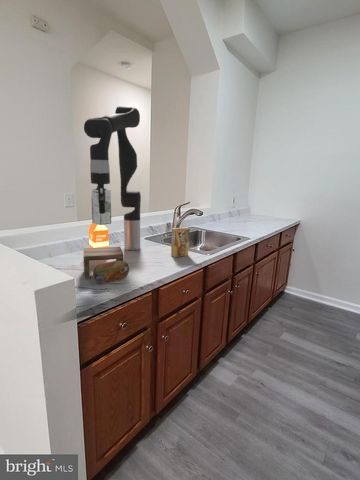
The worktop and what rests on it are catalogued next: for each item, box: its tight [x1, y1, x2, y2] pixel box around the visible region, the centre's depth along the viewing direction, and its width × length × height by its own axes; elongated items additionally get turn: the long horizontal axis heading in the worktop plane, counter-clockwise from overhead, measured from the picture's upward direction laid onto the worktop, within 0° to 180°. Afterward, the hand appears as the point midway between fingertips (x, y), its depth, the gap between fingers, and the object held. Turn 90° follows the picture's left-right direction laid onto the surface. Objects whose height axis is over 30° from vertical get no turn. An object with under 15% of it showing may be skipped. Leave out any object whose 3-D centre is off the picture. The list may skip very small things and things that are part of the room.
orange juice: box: [87, 222, 110, 248], centre depth 143 cm, size 8×9×20 cm
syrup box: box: [90, 188, 112, 226], centre depth 115 cm, size 6×6×14 cm
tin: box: [92, 259, 130, 285], centre depth 113 cm, size 15×3×8 cm, turn 126°
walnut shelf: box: [83, 246, 124, 280], centre depth 121 cm, size 12×16×10 cm
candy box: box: [170, 226, 190, 258], centre depth 149 cm, size 9×4×15 cm, turn 119°
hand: (101, 211), depth 116 cm, fingers closed on syrup box, 7 cm apart
